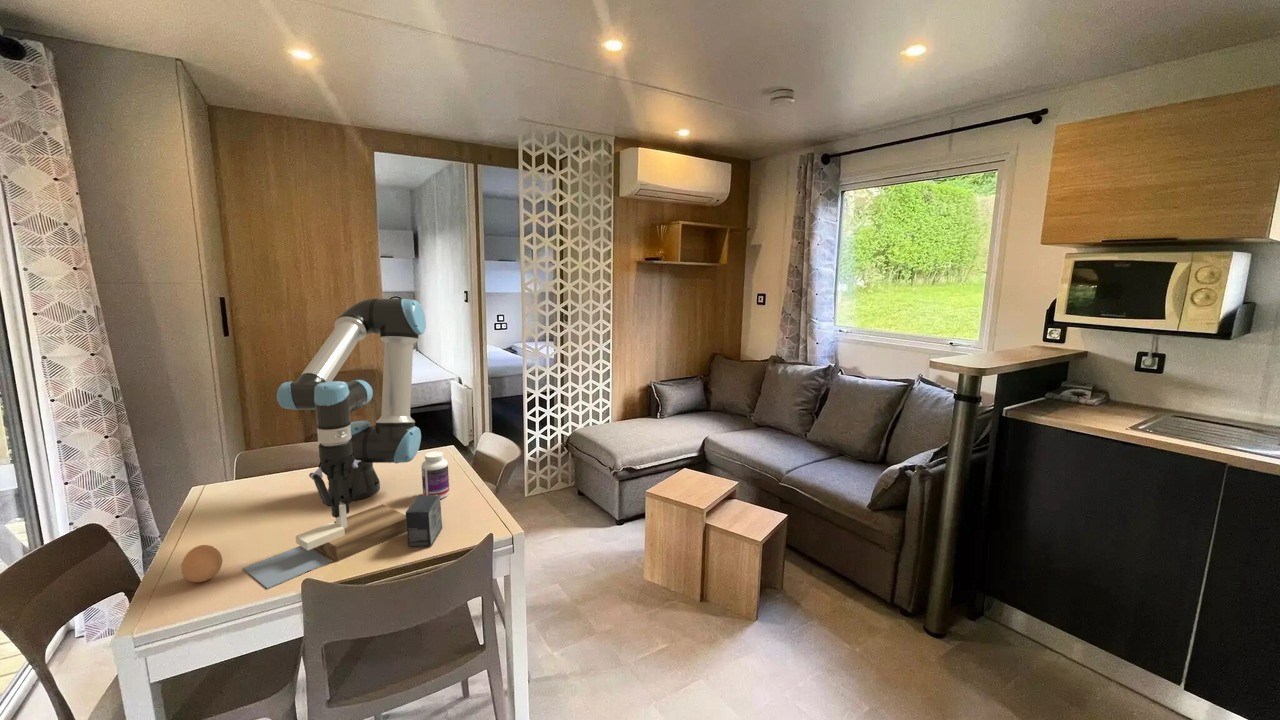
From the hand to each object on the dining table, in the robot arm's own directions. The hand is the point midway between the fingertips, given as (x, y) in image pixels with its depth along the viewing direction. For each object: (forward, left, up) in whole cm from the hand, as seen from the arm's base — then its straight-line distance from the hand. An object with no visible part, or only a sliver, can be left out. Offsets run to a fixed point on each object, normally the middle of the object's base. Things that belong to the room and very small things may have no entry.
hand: (341, 526), depth 137 cm
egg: (-10, -27, -6) cm, 29 cm away
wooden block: (0, +5, -5) cm, 7 cm away
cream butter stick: (0, -5, -1) cm, 5 cm away
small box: (+14, +15, -6) cm, 21 cm away
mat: (-1, -13, -5) cm, 14 cm away
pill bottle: (-7, +33, -6) cm, 34 cm away
